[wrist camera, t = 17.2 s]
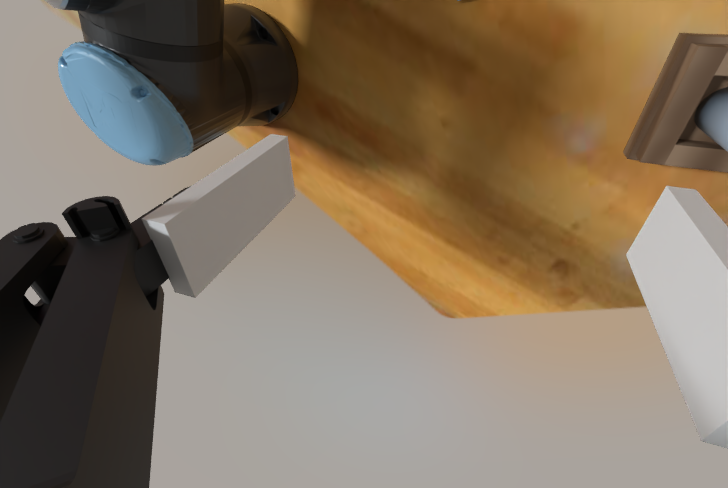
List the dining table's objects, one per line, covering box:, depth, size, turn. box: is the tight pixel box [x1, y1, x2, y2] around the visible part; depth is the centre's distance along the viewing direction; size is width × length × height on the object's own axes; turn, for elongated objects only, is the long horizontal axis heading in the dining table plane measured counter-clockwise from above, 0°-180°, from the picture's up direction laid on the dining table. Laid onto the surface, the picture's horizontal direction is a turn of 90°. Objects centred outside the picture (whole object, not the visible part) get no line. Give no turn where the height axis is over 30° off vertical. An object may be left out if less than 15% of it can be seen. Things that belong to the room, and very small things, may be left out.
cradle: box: [623, 33, 728, 172], centre depth 34 cm, size 12×12×4 cm
